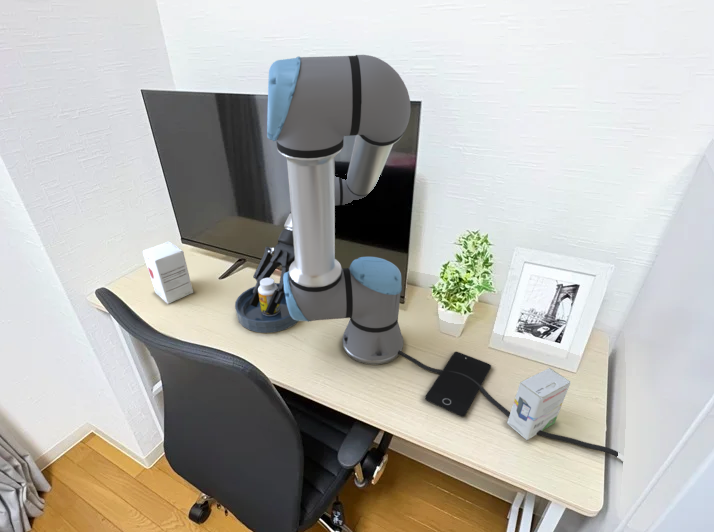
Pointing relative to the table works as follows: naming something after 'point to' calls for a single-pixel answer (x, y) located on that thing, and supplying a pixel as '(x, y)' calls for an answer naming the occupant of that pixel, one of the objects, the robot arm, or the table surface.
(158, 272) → the rectangular carton
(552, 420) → the ink box
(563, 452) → the table surface
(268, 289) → the supplement bottle
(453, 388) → the cell phone
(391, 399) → the table surface
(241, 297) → the bowl
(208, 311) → the table surface
